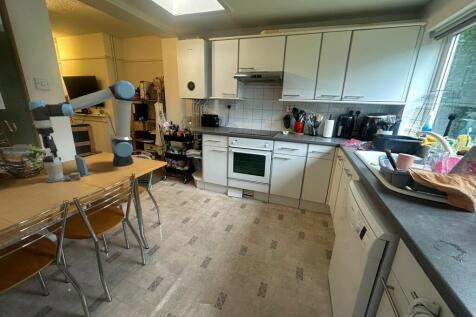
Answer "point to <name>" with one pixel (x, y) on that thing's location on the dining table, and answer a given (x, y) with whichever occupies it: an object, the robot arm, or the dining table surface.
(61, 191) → the dining table surface
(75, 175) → the letter block
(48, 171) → the coffee cup
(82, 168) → the screen
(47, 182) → the coaster
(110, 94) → the robot arm
